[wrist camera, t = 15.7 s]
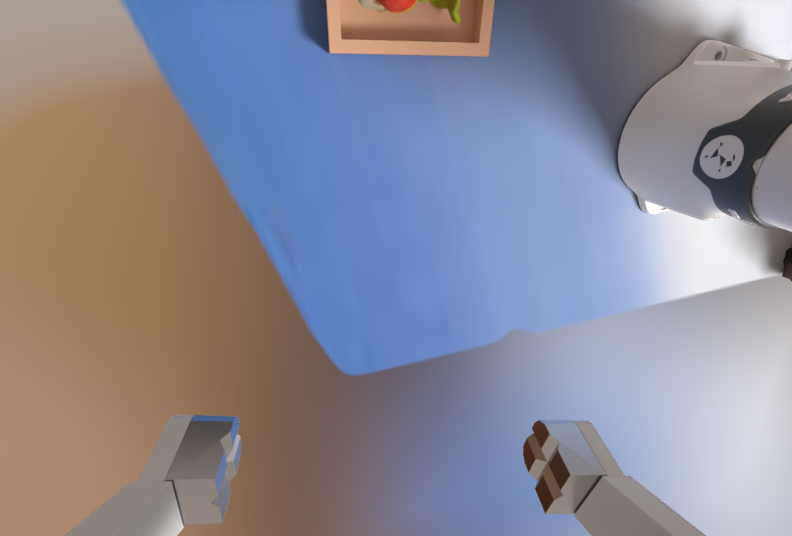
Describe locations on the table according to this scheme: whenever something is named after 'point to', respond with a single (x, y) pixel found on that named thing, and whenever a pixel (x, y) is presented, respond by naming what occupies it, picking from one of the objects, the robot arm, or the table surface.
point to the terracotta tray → (409, 30)
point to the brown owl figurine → (788, 264)
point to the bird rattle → (400, 3)
